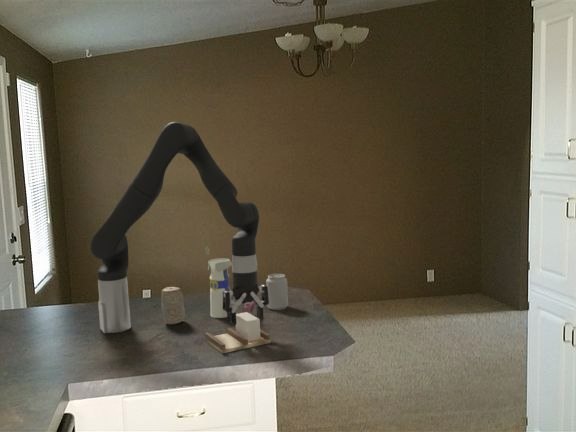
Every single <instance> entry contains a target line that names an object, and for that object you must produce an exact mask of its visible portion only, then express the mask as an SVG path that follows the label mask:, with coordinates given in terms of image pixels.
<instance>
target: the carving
mask: <svg viewBox="0 0 576 432" xmlns="http://www.w3.org/2000/svg"><path fill="white" fill-rule="evenodd" d="M160 299H161V301H160V302H161V304H160V305H161V312H162V317H163V319H164V322H165V324H166V325H176V324H179V323H182V322H183V321H184V319H185V316H186V315H185V304H184V297H183V292H182V290H181V287H177V286H169V287H168V286H167V287H165V288H163V289H162V290H161V298H160Z"/></svg>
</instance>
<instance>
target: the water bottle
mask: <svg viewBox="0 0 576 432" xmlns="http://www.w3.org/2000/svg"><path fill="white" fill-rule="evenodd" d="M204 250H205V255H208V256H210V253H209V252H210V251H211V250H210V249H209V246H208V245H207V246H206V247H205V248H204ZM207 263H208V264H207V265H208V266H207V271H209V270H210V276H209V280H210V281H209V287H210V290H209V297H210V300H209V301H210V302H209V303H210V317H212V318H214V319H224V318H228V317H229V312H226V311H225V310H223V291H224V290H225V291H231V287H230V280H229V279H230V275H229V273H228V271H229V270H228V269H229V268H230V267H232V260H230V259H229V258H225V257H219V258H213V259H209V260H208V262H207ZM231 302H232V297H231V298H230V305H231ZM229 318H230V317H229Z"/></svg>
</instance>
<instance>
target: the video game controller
mask: <svg viewBox="0 0 576 432" xmlns="http://www.w3.org/2000/svg"><path fill="white" fill-rule="evenodd" d="M256 306H257V305H256V303H255V302H254V301H252V302H247V303H243V307H242V308H241V310H240V311H239V312H238V313H237V314H239V313H244V312H248V313H250V314H251V315H253V314H252V312H253V311H254V310H255V308H256Z"/></svg>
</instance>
